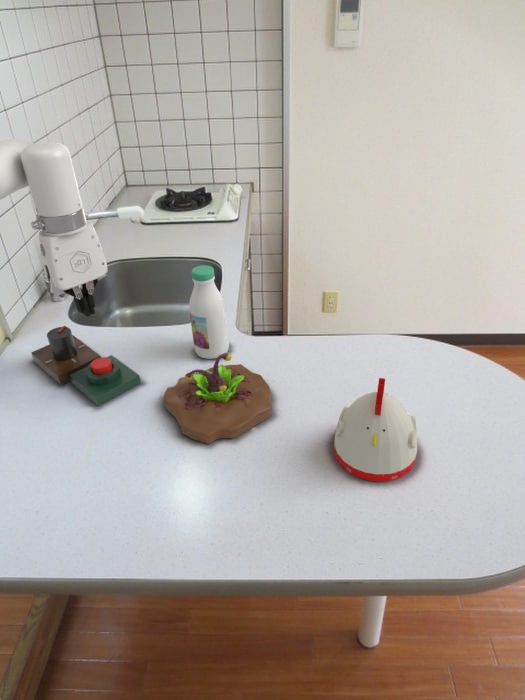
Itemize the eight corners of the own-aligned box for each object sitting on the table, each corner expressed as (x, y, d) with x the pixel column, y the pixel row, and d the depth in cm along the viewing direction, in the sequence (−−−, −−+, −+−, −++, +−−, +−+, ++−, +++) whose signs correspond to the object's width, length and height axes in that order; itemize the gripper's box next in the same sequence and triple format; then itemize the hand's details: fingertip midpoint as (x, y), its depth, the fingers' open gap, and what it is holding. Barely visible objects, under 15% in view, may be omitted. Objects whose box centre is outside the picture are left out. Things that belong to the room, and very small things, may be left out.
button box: (72, 383, 110) (67, 368, 108) (113, 362, 116) (109, 347, 114) (98, 406, 104) (93, 390, 101) (141, 383, 109) (137, 368, 107)
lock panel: (34, 361, 118) (30, 351, 116) (74, 343, 123) (72, 333, 122) (60, 385, 110) (57, 375, 108) (103, 365, 115) (100, 355, 114)
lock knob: (69, 361, 113) (62, 339, 109) (48, 358, 114) (41, 336, 111) (81, 348, 117) (75, 326, 113) (61, 346, 118) (55, 324, 115)
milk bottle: (224, 338, 122) (216, 258, 111) (233, 355, 116) (225, 273, 105) (192, 344, 121) (180, 265, 109) (199, 363, 114) (187, 280, 103)
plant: (290, 415, 99) (289, 367, 93) (195, 455, 91) (187, 406, 85) (242, 363, 114) (238, 319, 107) (156, 393, 106) (147, 348, 100)
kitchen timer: (327, 473, 87) (330, 403, 78) (340, 418, 98) (343, 352, 89) (414, 488, 83) (426, 416, 75) (417, 429, 94) (428, 361, 86)
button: (89, 370, 108) (87, 363, 107) (106, 361, 110) (104, 354, 109) (99, 378, 105) (97, 371, 104) (116, 369, 108) (114, 362, 107)
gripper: (30, 238, 83) (60, 335, 94) (112, 213, 92) (131, 304, 102) (11, 227, 88) (41, 321, 98) (91, 204, 96) (111, 292, 107)
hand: (87, 312), depth 100 cm, fingers closed
